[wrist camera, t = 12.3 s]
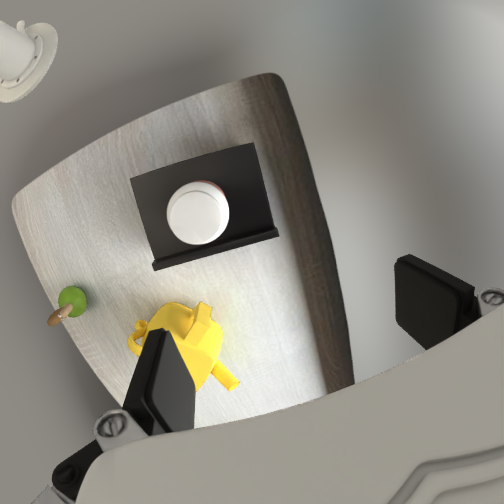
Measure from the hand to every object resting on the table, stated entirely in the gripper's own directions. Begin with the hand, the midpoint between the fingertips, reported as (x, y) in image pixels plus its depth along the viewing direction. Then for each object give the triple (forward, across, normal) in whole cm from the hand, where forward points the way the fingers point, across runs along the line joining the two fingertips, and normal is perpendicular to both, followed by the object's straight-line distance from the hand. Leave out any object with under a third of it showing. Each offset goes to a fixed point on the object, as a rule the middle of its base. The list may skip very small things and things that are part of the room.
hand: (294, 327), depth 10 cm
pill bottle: (+26, +4, -3) cm, 27 cm away
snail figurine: (+34, +31, +6) cm, 47 cm away
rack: (+34, +4, -3) cm, 35 cm away
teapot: (+34, +14, +19) cm, 42 cm away
